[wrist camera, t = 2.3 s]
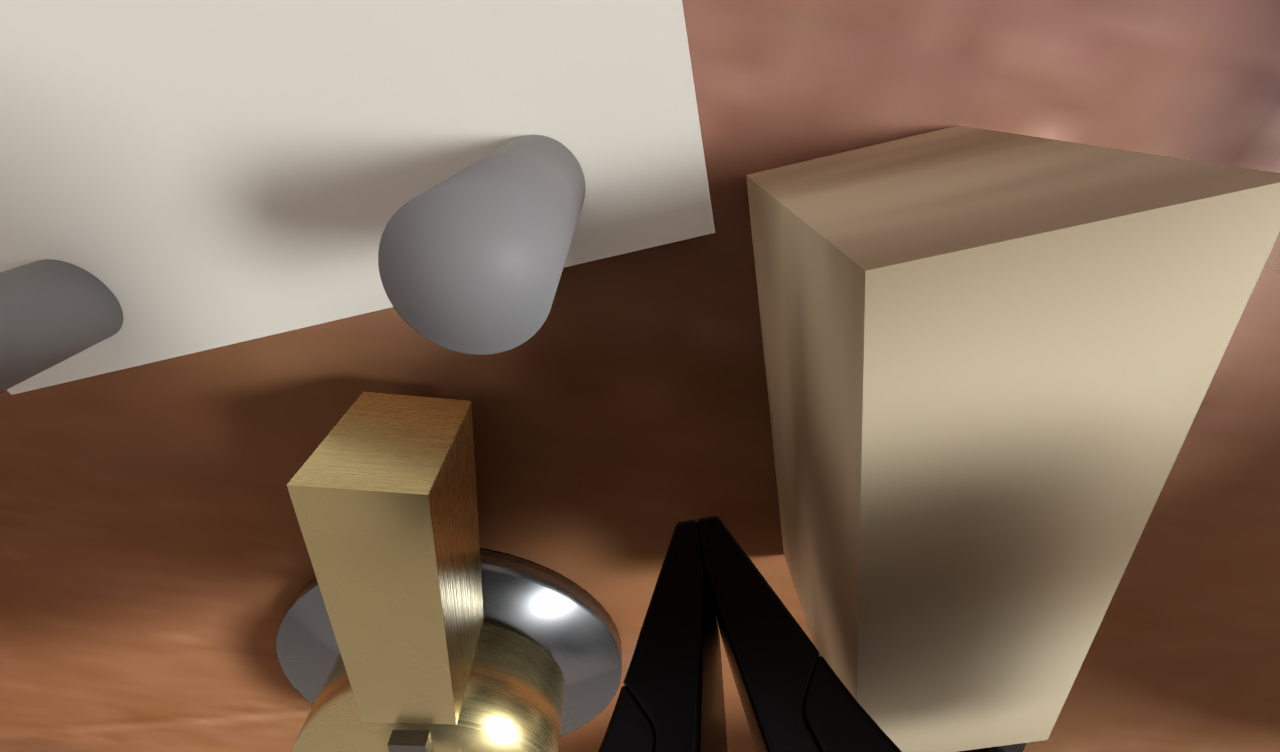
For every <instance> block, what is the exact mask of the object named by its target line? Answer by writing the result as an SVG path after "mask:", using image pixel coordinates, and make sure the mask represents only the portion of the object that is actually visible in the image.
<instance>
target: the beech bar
mask: <svg viewBox="0 0 1280 752" xmlns="http://www.w3.org/2000/svg"><path fill="white" fill-rule="evenodd" d="M746 180H747V190H748V200H749V210H750V220H751V230H752V240H753V250H754V260H755V270H756V280H757V290H758V300H759V310H760V320H761V330H762V340H763V350H764V360H765V370H766V380H767V390H768V400H769V410H770V420H771V430H772V440H773V450H774V460H775V470H776V480H777V490H778V500H779V510H780V520H781V530H782V540H783V550H784V556H785V559H786V562H787V565H788V568H789V571H790V574H791V577H792V580H793V583H794V586H795V589H796V591H797V594H798V597H799V600H800V603H801V606H802V609H803V612H804V615H805V618H806V621H807V624H808V627H809V630H810V633H811V636H812V639H813V642H814V645H815V647H816V649H817V650H818V651H819V653H820V656H822V657H823V658H824V659H825V660H826V662H827V663H828V664H829V666H830V667H831V668H832V670H833V671H834V672H835V674H836V675H837V676H838V678H839V679H840V680H841V681H842V683H843V684H844V685H845V686H846V688H847V689H848V690H849V691H850V693H851V694H852V695H853V697H854V698H855V699H856V700H857V702H858V703H859V704H860V705H861V706H862V707H863V709H864V710H865V711H866V712H867V713H868V714H869V715H870V717H871V718H872V719H873V720H874V721H875V722H876V723H877V725H878V726H879V727H880V728H881V729H882V730H883V731H884V733H885V734H886V735H887V736H888V737H889V738H890V739H891V740H892V741H893V742H894V743H895V745H896V746H897V747H898V748H899V749H900V750H901V751H902V752H959V751H966V750H974V749H982V748H989V747H997V746H1005V745H1012V744H1020V743H1028V742H1035V741H1043V740H1048V738H1049V736H1050V734H1051V731H1052V729H1053V727H1054V725H1055V723H1056V720H1057V718H1058V716H1059V714H1060V712H1061V709H1062V707H1063V705H1064V703H1065V701H1066V698H1067V696H1068V694H1069V692H1070V690H1071V688H1072V685H1073V683H1074V681H1075V679H1076V677H1077V674H1078V672H1079V670H1080V668H1081V666H1082V663H1083V661H1084V659H1085V657H1086V655H1087V652H1088V650H1089V648H1090V646H1091V644H1092V642H1093V639H1094V637H1095V635H1096V633H1097V631H1098V628H1099V626H1100V624H1101V622H1102V620H1103V617H1104V615H1105V613H1106V611H1107V609H1108V607H1109V604H1110V602H1111V600H1112V598H1113V596H1114V593H1115V591H1116V589H1117V587H1118V585H1119V582H1120V580H1121V578H1122V576H1123V574H1124V571H1125V569H1126V567H1127V565H1128V563H1129V561H1130V558H1131V556H1132V554H1133V552H1134V550H1135V547H1136V545H1137V543H1138V541H1139V539H1140V536H1141V534H1142V532H1143V530H1144V528H1145V525H1146V523H1147V521H1148V519H1149V517H1150V515H1151V512H1152V510H1153V508H1154V506H1155V504H1156V501H1157V499H1158V497H1159V495H1160V493H1161V490H1162V488H1163V486H1164V484H1165V482H1166V479H1167V477H1168V475H1169V473H1170V471H1171V469H1172V466H1173V464H1174V462H1175V460H1176V458H1177V455H1178V453H1179V451H1180V449H1181V447H1182V444H1183V442H1184V440H1185V438H1186V436H1187V434H1188V431H1189V429H1190V427H1191V425H1192V423H1193V420H1194V418H1195V416H1196V414H1197V412H1198V409H1199V407H1200V405H1201V403H1202V401H1203V398H1204V396H1205V394H1206V392H1207V390H1208V388H1209V385H1210V383H1211V381H1212V379H1213V377H1214V374H1215V372H1216V370H1217V368H1218V366H1219V363H1220V361H1221V359H1222V357H1223V355H1224V352H1225V350H1226V348H1227V346H1228V344H1229V342H1230V339H1231V337H1232V335H1233V333H1234V331H1235V328H1236V326H1237V324H1238V322H1239V320H1240V317H1241V315H1242V313H1243V311H1244V309H1245V307H1246V304H1247V302H1248V300H1249V298H1250V296H1251V293H1252V291H1253V289H1254V287H1255V285H1256V282H1257V280H1258V278H1259V276H1260V274H1261V271H1262V269H1263V267H1264V265H1265V263H1266V261H1267V258H1268V256H1269V254H1270V252H1271V250H1272V247H1273V245H1274V243H1275V241H1276V239H1277V236H1278V234H1279V232H1280V173H1274V172H1267V171H1260V170H1254V169H1247V168H1240V167H1233V166H1227V165H1220V164H1213V163H1206V162H1200V161H1193V160H1186V159H1180V158H1173V157H1166V156H1159V155H1153V154H1146V153H1139V152H1133V151H1126V150H1119V149H1112V148H1106V147H1099V146H1092V145H1086V144H1079V143H1072V142H1065V141H1059V140H1052V139H1045V138H1039V137H1032V136H1025V135H1018V134H1012V133H1005V132H998V131H991V130H985V129H978V128H971V127H965V126H958V125H957V126H953V127H949V128H944V129H940V130H936V131H932V132H927V133H923V134H919V135H914V136H910V137H906V138H902V139H897V140H893V141H889V142H885V143H880V144H876V145H872V146H867V147H863V148H859V149H855V150H850V151H846V152H842V153H838V154H833V155H829V156H825V157H820V158H816V159H812V160H808V161H803V162H799V163H795V164H791V165H786V166H782V167H778V168H773V169H769V170H765V171H761V172H756V173H752V174H748V175H746Z"/></svg>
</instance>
